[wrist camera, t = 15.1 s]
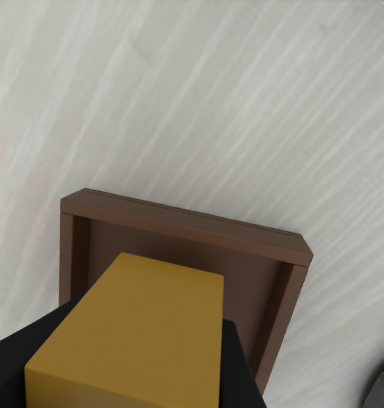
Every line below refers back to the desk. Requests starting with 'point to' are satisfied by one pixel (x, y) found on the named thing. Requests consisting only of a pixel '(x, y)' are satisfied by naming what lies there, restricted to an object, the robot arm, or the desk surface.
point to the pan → (376, 394)
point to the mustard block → (135, 342)
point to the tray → (191, 261)
